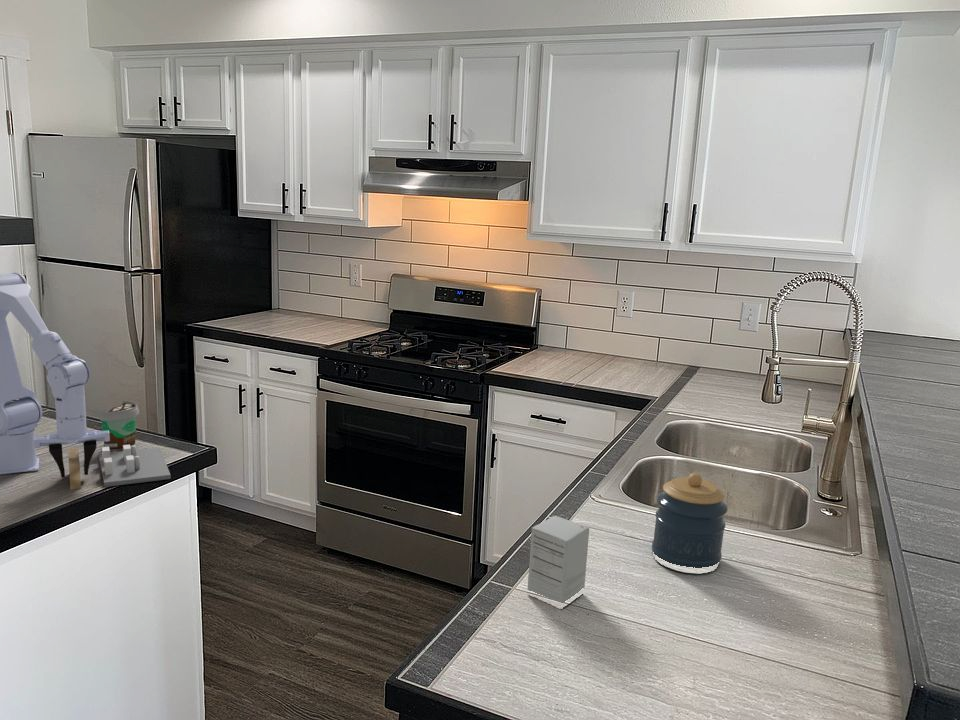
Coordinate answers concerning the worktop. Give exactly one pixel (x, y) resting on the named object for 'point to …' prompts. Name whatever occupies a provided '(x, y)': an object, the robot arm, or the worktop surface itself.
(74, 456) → the oak block
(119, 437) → the food container
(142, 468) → the board
